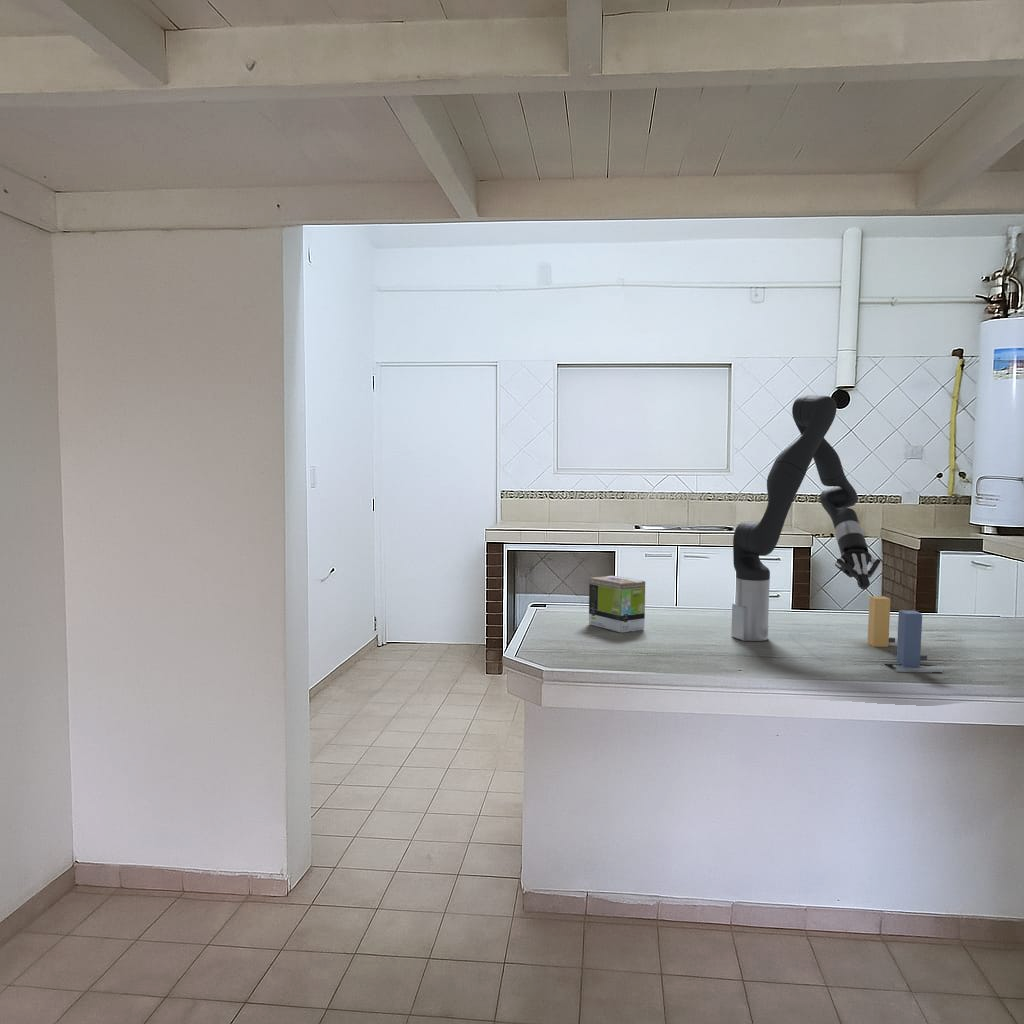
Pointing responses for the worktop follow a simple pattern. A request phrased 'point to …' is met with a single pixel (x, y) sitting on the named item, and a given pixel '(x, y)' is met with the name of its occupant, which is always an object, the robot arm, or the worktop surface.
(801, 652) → the worktop surface
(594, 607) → the tea box
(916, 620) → the fixed leg
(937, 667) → the bolt plate
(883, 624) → the block
